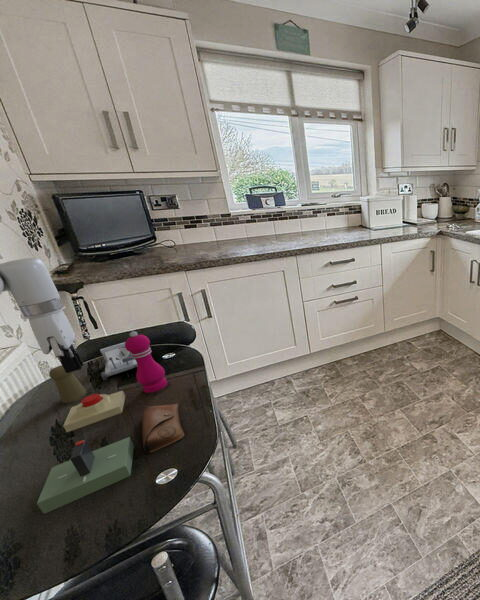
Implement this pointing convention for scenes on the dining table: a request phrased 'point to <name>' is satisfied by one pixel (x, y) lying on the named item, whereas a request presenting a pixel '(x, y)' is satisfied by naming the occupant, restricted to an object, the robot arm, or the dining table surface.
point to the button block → (95, 411)
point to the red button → (91, 400)
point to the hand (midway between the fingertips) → (75, 368)
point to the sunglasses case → (160, 426)
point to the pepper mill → (145, 363)
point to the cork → (67, 384)
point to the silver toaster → (116, 360)
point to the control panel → (87, 476)
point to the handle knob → (82, 457)
